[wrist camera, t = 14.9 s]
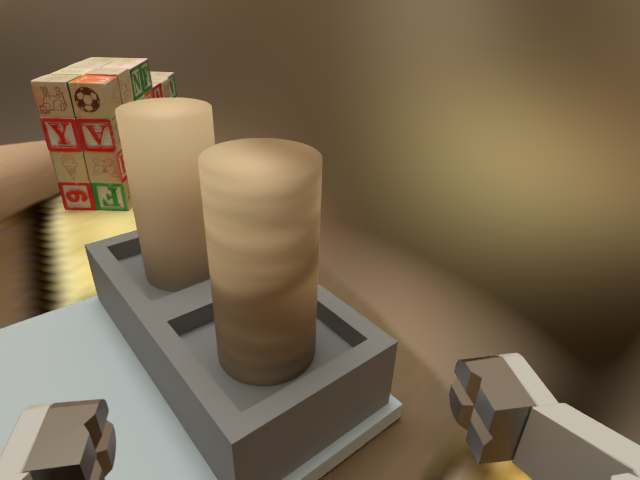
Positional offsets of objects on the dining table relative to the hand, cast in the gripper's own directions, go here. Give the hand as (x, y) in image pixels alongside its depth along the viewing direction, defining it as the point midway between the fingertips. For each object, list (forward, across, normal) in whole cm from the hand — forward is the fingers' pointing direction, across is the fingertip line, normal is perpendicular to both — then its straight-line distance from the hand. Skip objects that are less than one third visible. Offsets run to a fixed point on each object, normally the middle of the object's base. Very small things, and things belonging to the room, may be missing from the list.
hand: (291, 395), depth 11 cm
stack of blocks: (+46, +13, +12) cm, 49 cm away
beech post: (+10, 0, +8) cm, 12 cm away
